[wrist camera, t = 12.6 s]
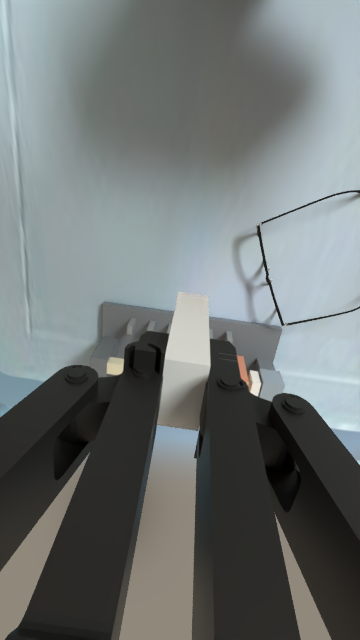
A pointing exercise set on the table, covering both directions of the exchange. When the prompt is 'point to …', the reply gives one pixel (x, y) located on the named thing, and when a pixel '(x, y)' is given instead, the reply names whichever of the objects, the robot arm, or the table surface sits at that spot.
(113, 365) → the cream long bar
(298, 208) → the eyeglasses
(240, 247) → the table surface
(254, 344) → the cable comb board
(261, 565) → the robot arm
